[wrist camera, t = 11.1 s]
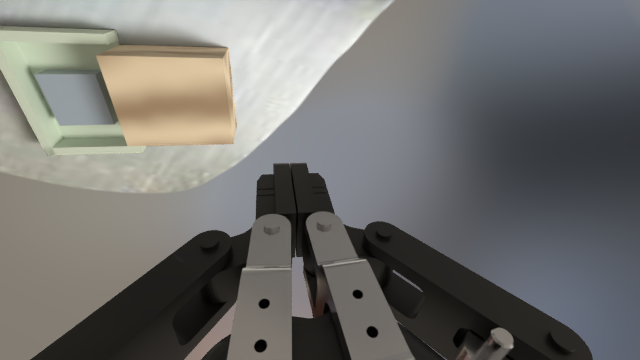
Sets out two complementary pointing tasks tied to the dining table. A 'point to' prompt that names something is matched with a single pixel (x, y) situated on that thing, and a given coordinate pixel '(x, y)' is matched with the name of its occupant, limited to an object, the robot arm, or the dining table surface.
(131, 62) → the cardboard box
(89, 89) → the tile
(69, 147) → the tray
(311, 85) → the dining table surface
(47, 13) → the dining table surface
